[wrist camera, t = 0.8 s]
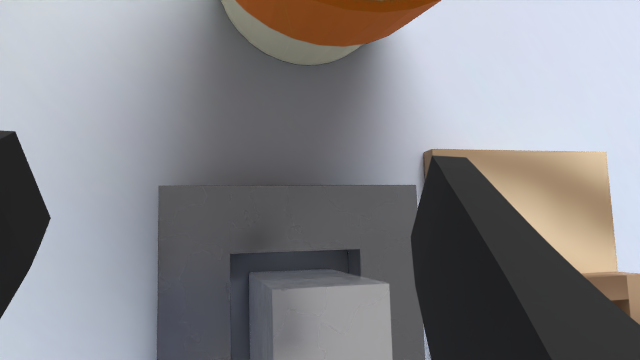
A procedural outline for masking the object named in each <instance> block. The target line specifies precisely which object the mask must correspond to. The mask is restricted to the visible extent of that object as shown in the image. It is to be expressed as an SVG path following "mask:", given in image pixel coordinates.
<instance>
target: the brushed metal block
mask: <svg viewBox="0 0 640 360" xmlns="http://www.w3.org/2000/svg"><path fill="white" fill-rule="evenodd" d="M249 322H250V360H393V359H392V336H391V314H390V291H389V283H385V282H381V281H377V280H373V279H369V278H365V277H361V276H356V275H352V274H348V273H344V272H340V271H336V270H332V269H315V270H294V271H272V272H250V273H249Z"/></svg>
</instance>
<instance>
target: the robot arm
mask: <svg viewBox="0 0 640 360" xmlns="http://www.w3.org/2000/svg"><path fill="white" fill-rule="evenodd" d="M50 219H51V218H50V215H49V213H48V210H47V208H46V206H45V203H44V201H43V198H42V196H41V193H40V191H39V188H38V186H37V184H36V181H35V179H34V176H33V174H32V171H31V169H30V166H29V164H28V162H27V159H26V157H25V154H24V152H23V149H22V147H21V144H20V142H19V140H18V137H17V135H16V132H15V131H0V318H1V317H2V315H3V313H4V312H5V310H6V308H7V307H8V305H9V303H10V302H11V300H12V298H13V297H14V295H15V293H16V292H17V290H18V288H19V286H20V285H21V283H22V281H23V280H24V278H25V276H26V274H27V273H28V271H29V269H30V267H31V265H32V263H33V260H34V258H35V256H36V254H37V251H38V249H39V247H40V244H41V242H42V239H43V237H44V234H45V231H46V229H47V226H48V224H49V221H50ZM411 248H412V260H413V270H414V279H415V287H416V292H417V297H418V301H419V306H420V311H421V315H422V320H423V324H424V329H425V333H426V337H427V342H428V346H429V350H430V355H431V359H432V360H640V324H638V323H637V322H636V321H635V320H633V319H632V318H631V317H630V316H628V315H627V314H626V313H625V312H624V311H623V310H621V309H620V308H619V307H618V306H617V305H616V304H614V303H613V302H612V301H611V300H610V299H609V298H607V297H606V296H605V295H604V294H603V293H602V292H601V291H600V290H599V289H597V288H596V287H595V286H594V285H593V284H592V283H591V282H590V281H589V280H588V279H586V278H585V277H584V276H583V275H582V274H581V273H580V272H579V271H578V270H577V269H575V268H574V267H573V266H572V265H571V264H570V263H569V262H568V261H567V260H566V259H565V258H564V257H563V256H562V255H561V254H560V253H559V252H558V251H557V250H555V249H554V248H553V247H552V246H551V245H550V244H549V243H548V242H547V241H546V240H545V239H544V238H543V237H542V236H541V235H540V234H539V233H538V232H537V231H536V230H535V229H534V228H533V227H532V226H531V225H530V224H529V223H528V221H527V220H526V219H525V218H524V217H523V216H522V215H521V214H520V213H519V212H518V211H517V210H516V209H515V208H514V207H513V206H512V205H511V204H510V203H509V202H508V201H507V199H506V198H505V197H504V196H503V195H502V194H501V193H500V192H499V191H498V190H497V189H496V188H495V187H494V186H493V185H492V183H491V182H490V181H489V180H488V179H487V178H486V177H485V176H484V175H483V174H482V173H481V172H480V171H479V170H478V169H477V168H476V167H475V165H474V164H473V163H472V162H471V161H470V160H469V159H468V158H466V157H452V156H434V155H432V157H431V161H430V165H429V169H428V172H427V176H426V180H425V184H424V187H423V191H422V195H421V199H420V203H419V206H418V210H417V214H416V218H415V222H414V225H413V229H412V233H411Z"/></svg>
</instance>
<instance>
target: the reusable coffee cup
mask: <svg viewBox="0 0 640 360" xmlns="http://www.w3.org/2000/svg"><path fill="white" fill-rule="evenodd" d="M440 1H441V0H221V2H222V4H223V6H224V9H225V11H226V13H227V15H228V17H229V19H230V20H231V22H232V23H233V24H234V26H235V27H236V29H237V30H238V31H239V32H240V33H241V34H242V35H243V36H244V37H245V38H246V39H247V40H248V41H249V42H250V43H251V44H252V45H254V46H255V47H257V48H258V49H259V50H261V51H262V52H264V53H265V54H268V55H270V56H272V57H274V58H277V59H279V60H281V61H286V62H290V63H294V64H301V65H318V64H324V63H330V62H333V61H335V60H338V59H341V58H343V57H345V56H347V55H348V54H350V53H351V52H353V51H354V50H356V49H357V48H359V47H360V46H361V45H363V44H367V43H370V42H373V41H375V40H378V39H381V38H384V37H386V36H389V35H390V34H392V33H394V32H395V31H397V30H398V29H400V28H401V27H403V26H404V25H406V24H408V23H409V22H410V21H412V20H413V19H415V18H416V17H418V16H419V15H421V14H422V13H424V12H425V11H426V10H428V9H429V8H431V7H432V6H434V5H435V4H437V3H438V2H440Z"/></svg>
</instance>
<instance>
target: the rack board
mask: <svg viewBox="0 0 640 360" xmlns="http://www.w3.org/2000/svg"><path fill="white" fill-rule="evenodd" d="M432 155H434V156H452V157H466V158H468V159H469V160H470V161H471V162H472V163H473V164H474V165H475V167H476V168H477V169H478V170H479V171H480V172H481V173H482V174H483V175H484V176H485V177H486V178H487V179H488V180H489V181H490V182H491V183H492V185H493V186H494V187H495V188H496V189H497V190H498V191H499V192H500V193H501V194H502V195H503V196H504V197H505V198H506V199H507V201H508V202H509V203H510V204H511V205H512V206H513V207H514V208H515V209H516V210H517V211H518V212H519V213H520V214H521V215H522V216H523V217H524V218H525V219H526V220H527V221H528V223H529V224H530V225H531V226H532V227H533V228H534V229H535V230H536V231H537V232H538V233H539V234H540V235H541V236H542V237H543V238H544V239H545V240H546V241H547V242H548V243H549V244H550V245H551V246H552V247H553V248H554V249H555V250H557V251H558V252H559V253H560V254H561V255H562V256H563V257H564V258H565V259H566V260H567V261H568V262H569V263H570V264H571V265H572V266H573V267H574V268H575V269H577V270H578V271H579V272H580V273H581V274H582V275H583V276H584V277H585V278H586V279H588V280H589V281H590V282H591V283H592V284H593V285H594V286H595V287H596V288H597V289H599V290H600V291H601V292H602V293H603V294H604V295H605V296H606V297H607V298H609V299H610V300H611V301H612V302H613V303H614V304H616V305H617V306H618V307H619V308H620V309H621V310H623V311H624V312H625V313H626V314H627V315H628V316H630V317H631V318H632V319H633V320H635V321H636V322H637V323H638V324H640V274H637V273H625V272H618V267H617V257H616V247H615V237H614V227H613V217H612V206H611V196H610V186H609V176H608V166H607V155H606V152H575V151H515V150H456V149H431V150H429V151H426V152H424V167H425V180H426V176H427V172H428V169H429V165H430V161H431V157H432Z"/></svg>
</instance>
